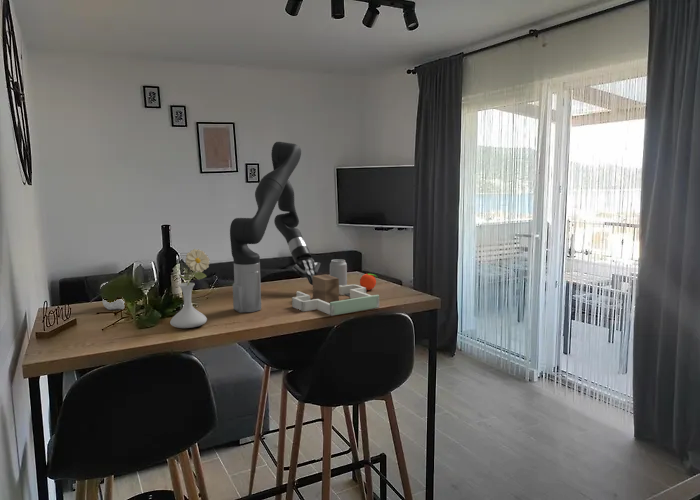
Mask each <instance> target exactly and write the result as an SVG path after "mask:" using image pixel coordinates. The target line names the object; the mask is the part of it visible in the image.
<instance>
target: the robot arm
mask: <svg viewBox="0 0 700 500" xmlns="http://www.w3.org/2000/svg"><path fill="white" fill-rule="evenodd" d="M301 148H302V147H300V145H299V144H296V143H291V142H285V141H276V142H274V144H273V146H272V147H271V152H270V153H271V162H272V163H271V164H272V167H273V170H271V171H270V172H268V173H266V174H265V175H264V176H263V177H262V178H261V179H260V181H259V183H258V185H257V186H256V189H255V192H254V198H255V202H256V205H257V211H256V213H255V215H254V216H253V217H236V218H234V219H233V220H232V221H231V222H230V226H229V238H230V239H229V240H230V249H231V250H230V251H231V256H232V259H233V276H234V277H233V279H234V282H233V283H232V300H233V301H232V303H233V304H232V305H233V310H234V311H235V312H237V313H254V312H259V311H261V310H262V291H261V290H262V287H261V284H262V283H261V282H262V281H261V258H260V254H258V253H257V252H256V251H253V250H252V249H251V248H249V246H248V245H256V244H259V243H260V242H261V241H262V239H263V238H264V235H265V233H266V230H267V227H268V224H269V223H270V219H271V217H272V214H273V211H274V209H275V207H276V205H278V206H277V207H278V209H279V211H281V212H285V213H281V214H280V213H279V214H277V215H276V216H275V217H274V225H275V228H276V229H277V231H278V232H280V234H281V235H282V236H283V238H284V239H285V241H286V243H287V245H288V250H289V253H290V254H291V256H292V259H293V261H294V262H293V263H295V264H294V265H293V266H292V268H291V269H292V271H293V272H294V273H295V274H297V275H298V276H300V277H302V278H306V279H307V281H308V283H309V284H310V285H311V286H313V276H316V275H318V273H319V269H320V267H321V262H315V260H314V258H313V257H312V253H311V251H310V249H309V247H308V245H307V243H306V241H305V239H304V237H303V235H302V233H301V230H299V229H298V228H297V227H298V225H299V224H300V219H299V216H298V213H297V209H296V203H295V190H294V188H293V187H294V186H292V184H291V182H290V180H289V179H290V177H291V176H292V174H293V172H294V171H295V169H296V168H297V166H298V164H299V162H300V160H301V156H302V149H301Z"/></svg>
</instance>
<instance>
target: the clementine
mask: <svg viewBox="0 0 700 500" xmlns="http://www.w3.org/2000/svg"><path fill="white" fill-rule="evenodd" d="M376 277H377V279H378V281H379V278H378V276H377V275H376V274H373V273H365V274H363V275H361V277H360V279H359V283H360V284H359V286H362V287H365V288H366V291H370V290H373V289H374V288H375V287H376V285H377V279H376Z"/></svg>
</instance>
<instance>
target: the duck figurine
mask: <svg viewBox="0 0 700 500" xmlns="http://www.w3.org/2000/svg"><path fill="white" fill-rule="evenodd" d="M108 282H109V281H107V282H106V281H105V282H104V283H102V284H101V285H100V288H101V287H102V286H103V285H105V284H106V283H108ZM123 300H124V299H123ZM123 300H122V299H119V300H116V301H114V302H111V303H109V302H107V301H106V300H104V299H103V298H102V304H103V307H104V308H105V309H106V310H109V311H112V310H124V309H125V305H126V304H125V305H124V303H125V300H124V301H123Z"/></svg>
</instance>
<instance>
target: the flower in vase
mask: <svg viewBox="0 0 700 500" xmlns="http://www.w3.org/2000/svg"><path fill="white" fill-rule="evenodd" d="M185 256H186V257H185V265H186V266H187V267H188V268H189V270H190V271H192V275H191V276H190V278H189V277H188V276H185V275H181V274H180V273H178V277H179V278H180V279H184V280H187V281H188V282H182V283H179V284H178V286H179V287H180V288H179V289H180V290H181V292H182V296H183V306H182V308H181V309H179V311H178V312H177V313H176V314H175V315H173V316H172V318H171V319H170V322H169V323H170V325H171V326H172V327H174V328H178V329H190V328H191V329H193V328H197V327H200V326H202V325H204V324H205V323H207V322H208V318H207V316H206V315H205V314H204V313H202V312H200V311H199V310H198V309H196V308H195V307H194V306H193V304H192V292H193V289H194V286H195V282H191V280H192V279H193V277H194V278H196V279H197V280H202V279H205V278H207V274H205V273H204V270H205V271H206V270H207V269H208V268H209V267H210V266H209V265H210V264H211V263H210V258H209V256H208V255H207V253H205V251H203V250H201V249H196V248H194V249H192V250H190V251H189V252H187V253H186V255H185Z"/></svg>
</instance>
